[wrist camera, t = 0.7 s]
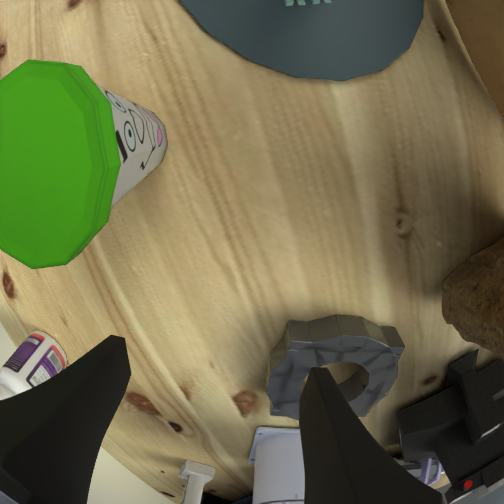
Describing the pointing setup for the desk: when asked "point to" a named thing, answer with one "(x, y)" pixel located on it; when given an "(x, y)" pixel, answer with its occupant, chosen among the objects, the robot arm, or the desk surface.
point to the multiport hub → (211, 500)
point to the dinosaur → (313, 33)
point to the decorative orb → (245, 500)
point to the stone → (478, 299)
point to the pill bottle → (31, 364)
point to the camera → (461, 428)
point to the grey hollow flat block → (333, 361)
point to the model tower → (195, 480)
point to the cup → (66, 159)
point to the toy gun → (424, 468)
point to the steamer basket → (483, 40)
